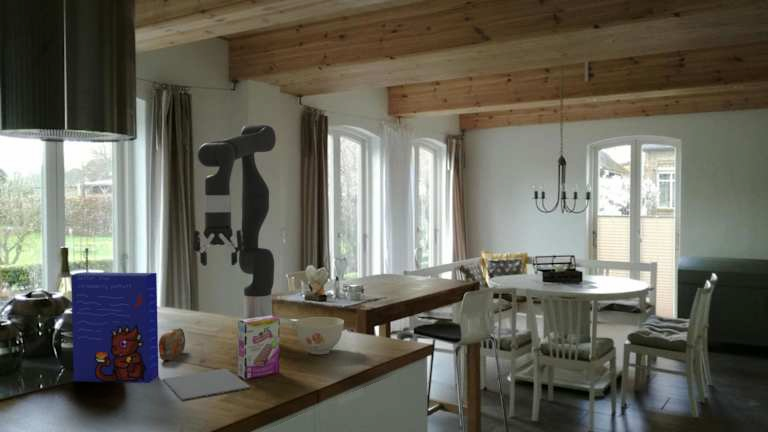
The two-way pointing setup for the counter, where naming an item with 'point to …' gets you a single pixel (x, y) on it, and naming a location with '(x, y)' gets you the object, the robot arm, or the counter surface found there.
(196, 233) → the robot arm
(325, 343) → the bowl
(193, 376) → the mat
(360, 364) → the counter surface
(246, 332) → the candy bar box
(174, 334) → the tin
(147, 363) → the cereal box
